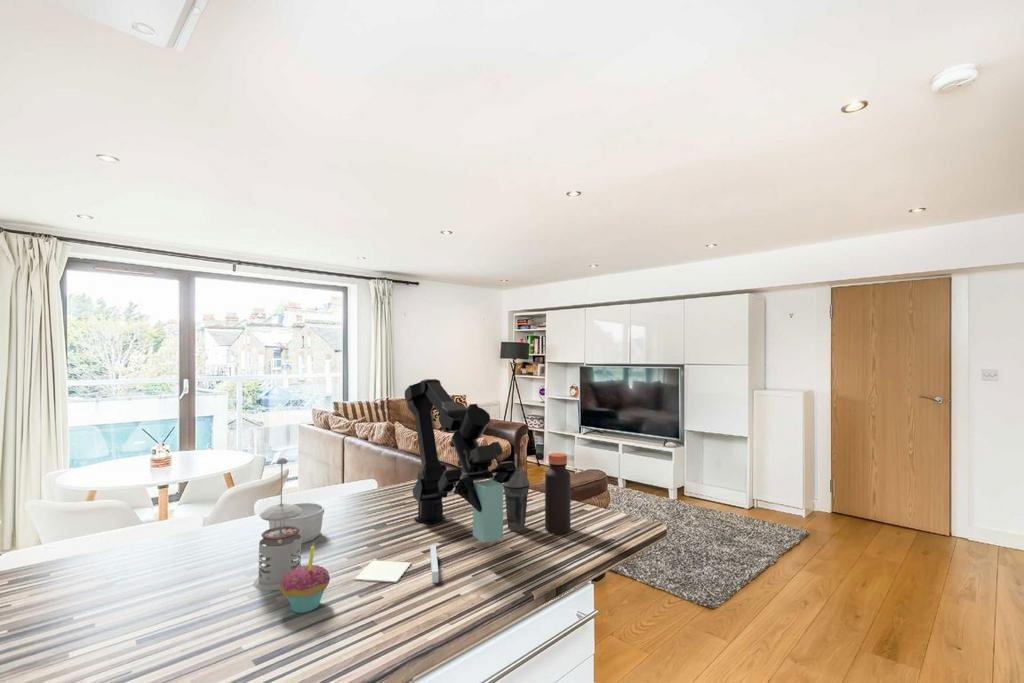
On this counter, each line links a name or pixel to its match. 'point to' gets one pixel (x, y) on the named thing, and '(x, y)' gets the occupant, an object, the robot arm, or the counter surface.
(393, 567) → the resting pad
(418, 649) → the counter surface
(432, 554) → the acrylic strip
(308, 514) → the ramekin
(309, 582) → the cupcake
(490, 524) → the sage block
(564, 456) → the bottle
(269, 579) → the french press
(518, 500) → the beverage cup
